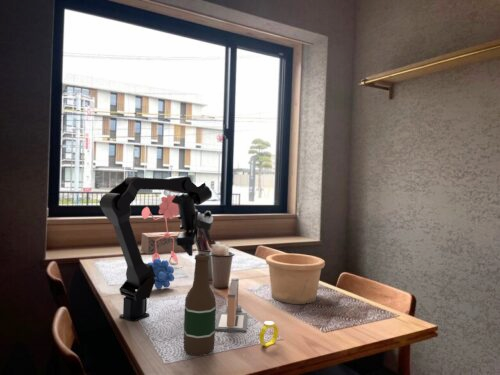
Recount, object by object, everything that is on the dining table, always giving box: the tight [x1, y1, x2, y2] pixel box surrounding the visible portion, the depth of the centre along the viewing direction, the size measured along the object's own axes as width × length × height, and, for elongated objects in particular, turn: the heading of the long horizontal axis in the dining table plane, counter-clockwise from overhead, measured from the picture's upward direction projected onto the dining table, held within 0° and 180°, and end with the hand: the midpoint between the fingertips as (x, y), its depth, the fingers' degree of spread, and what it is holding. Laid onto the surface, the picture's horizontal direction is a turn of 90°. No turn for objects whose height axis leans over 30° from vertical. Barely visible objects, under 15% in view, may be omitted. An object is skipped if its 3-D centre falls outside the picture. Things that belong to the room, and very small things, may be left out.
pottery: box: [265, 253, 326, 305], centre depth 142 cm, size 22×22×14 cm
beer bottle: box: [183, 253, 217, 357], centre depth 95 cm, size 8×8×24 cm
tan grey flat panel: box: [226, 277, 239, 326], centre depth 117 cm, size 18×2×9 cm, turn 179°
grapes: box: [146, 258, 175, 290], centre depth 145 cm, size 12×7×12 cm, turn 118°
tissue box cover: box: [140, 231, 187, 255], centre depth 223 cm, size 26×14×10 cm, turn 120°
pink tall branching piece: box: [141, 193, 183, 270], centre depth 184 cm, size 15×26×35 cm, turn 132°
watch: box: [259, 320, 279, 348], centre depth 100 cm, size 6×3×6 cm, turn 135°
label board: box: [215, 304, 248, 333], centre depth 117 cm, size 20×9×1 cm, turn 179°
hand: (193, 248), depth 138 cm, fingers open, 9 cm apart
